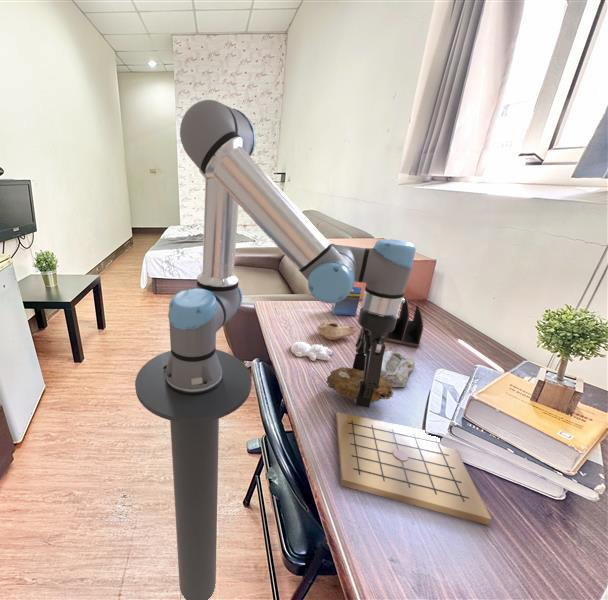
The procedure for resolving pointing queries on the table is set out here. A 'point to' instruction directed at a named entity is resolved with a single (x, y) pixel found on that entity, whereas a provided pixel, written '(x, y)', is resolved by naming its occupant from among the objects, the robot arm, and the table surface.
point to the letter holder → (407, 327)
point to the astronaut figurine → (311, 351)
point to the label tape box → (347, 303)
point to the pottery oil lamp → (335, 330)
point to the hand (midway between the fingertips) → (359, 389)
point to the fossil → (396, 368)
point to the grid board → (406, 467)
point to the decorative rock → (356, 384)
